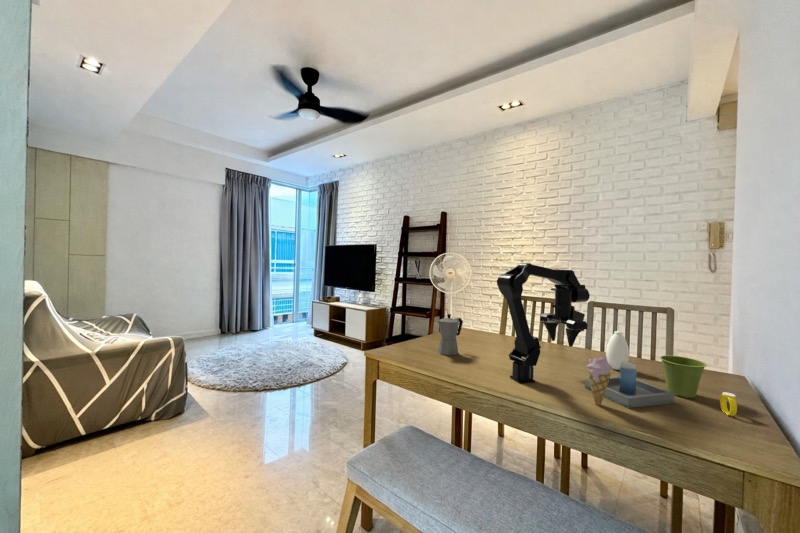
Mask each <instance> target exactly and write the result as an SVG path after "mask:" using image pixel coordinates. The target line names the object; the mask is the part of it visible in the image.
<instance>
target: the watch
mask: <svg viewBox="0 0 800 533" xmlns="http://www.w3.org/2000/svg"><path fill="white" fill-rule="evenodd" d="M727 402H729V409H728V405H727ZM719 404H720V409H721V411H722V412H723V413H724V412H725V413H726V414H727V415H729V416H728V417H733V416H734V417H735V416H736V415H737V412H738V404H737V401H736V395H735V394H734V393H732V392H731V393H730V392H726V391H725V392H724V391H723V392H722V393H721V396H720V400H719ZM725 413H724V414H725ZM726 414H725V415H726ZM727 415H726V416H727Z"/></svg>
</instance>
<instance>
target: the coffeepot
mask: <svg viewBox="0 0 800 533" xmlns="http://www.w3.org/2000/svg"><path fill="white" fill-rule="evenodd" d="M446 316H447V317H444V318H441V319H438V321H437V324H438V325H439V334H440V335H441V337H440V338H439V339H440V340H439V346H438V350H437V351H438V354H440V355H443V356H456V355H458V354H459V347H458V341H457V336H460V334H461V331H462V328H463V323H464V322H463V320H462V318H461V317H457V318H452V317H451V316H452V314H451V313H447V315H446Z"/></svg>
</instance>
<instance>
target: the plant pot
mask: <svg viewBox="0 0 800 533" xmlns="http://www.w3.org/2000/svg"><path fill="white" fill-rule="evenodd" d="M659 359H660V361H661V362H662V367H663V372H664V373H663V374H664V378H665V385H666V390H667V391H669V392H672V393H675V395H674V396H675V397H676V396H680V397H682V398H686V399H693V398H696V396H697V393H698V389H699V384H700V382H701V378H702V374H703V373H704V369H705V368H706V367H707V365H708V364H707V363H705V362H703V361H701V360H699V359H695V358H690V357H685V356H680V355H666V354H664V355H660V356H659Z"/></svg>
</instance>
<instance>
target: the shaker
mask: <svg viewBox="0 0 800 533" xmlns="http://www.w3.org/2000/svg"><path fill="white" fill-rule="evenodd" d="M637 367H638V365H637V364H636V363H633V362H629V361H628V362H620V370H619V376H620V388H619V391H620V392H622V393H625V394H630V395H635V394H636V379H637V374H638V373H637V371H638V370H637V369H638V368H637Z"/></svg>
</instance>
